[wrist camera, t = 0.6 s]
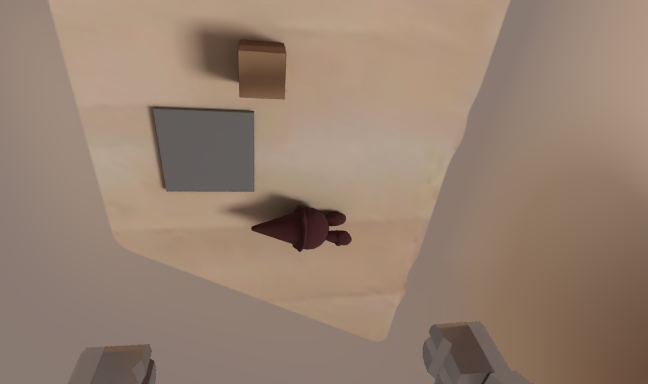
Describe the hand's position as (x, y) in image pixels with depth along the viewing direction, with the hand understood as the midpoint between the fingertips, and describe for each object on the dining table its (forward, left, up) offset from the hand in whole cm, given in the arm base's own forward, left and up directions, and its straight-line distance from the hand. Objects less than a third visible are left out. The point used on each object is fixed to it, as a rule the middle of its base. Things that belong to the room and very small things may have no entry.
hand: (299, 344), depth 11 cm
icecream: (+25, +5, -39) cm, 47 cm away
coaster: (+14, -8, -39) cm, 42 cm away
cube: (+2, -1, -39) cm, 39 cm away
